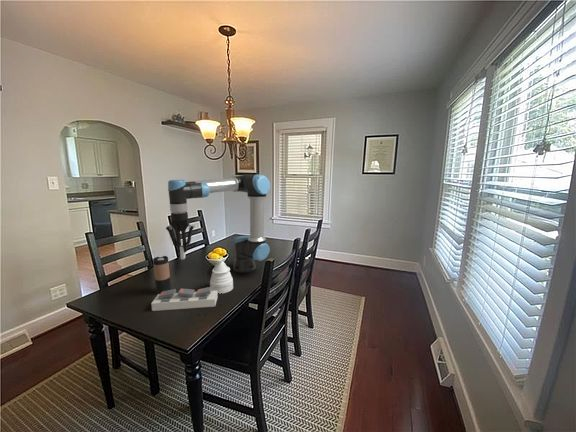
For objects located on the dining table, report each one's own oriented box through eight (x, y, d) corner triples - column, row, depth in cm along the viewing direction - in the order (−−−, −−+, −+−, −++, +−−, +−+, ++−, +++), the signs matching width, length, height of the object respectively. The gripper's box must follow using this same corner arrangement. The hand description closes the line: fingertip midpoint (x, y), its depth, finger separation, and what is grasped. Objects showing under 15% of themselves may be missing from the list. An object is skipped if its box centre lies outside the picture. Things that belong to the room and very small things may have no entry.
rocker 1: (176, 291, 130) (175, 288, 129) (173, 296, 125) (172, 293, 125) (162, 294, 129) (161, 291, 129) (159, 299, 124) (158, 296, 124)
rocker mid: (194, 292, 131) (194, 289, 131) (192, 297, 126) (192, 294, 126) (180, 291, 130) (180, 288, 130) (177, 295, 125) (177, 292, 125)
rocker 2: (211, 289, 132) (211, 286, 132) (210, 293, 127) (209, 290, 127) (198, 292, 131) (197, 289, 131) (196, 296, 127) (195, 294, 126)
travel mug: (163, 296, 136) (160, 261, 132) (153, 293, 138) (149, 259, 134) (174, 289, 143) (171, 256, 139) (164, 287, 145) (160, 255, 142)
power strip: (217, 297, 134) (217, 290, 134) (215, 306, 126) (214, 298, 125) (159, 301, 131) (158, 294, 130) (152, 311, 122) (151, 303, 121)
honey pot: (232, 292, 140) (231, 262, 136) (208, 294, 138) (206, 263, 134) (233, 282, 152) (232, 254, 149) (212, 284, 150) (210, 255, 146)
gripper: (194, 210, 124) (198, 255, 129) (167, 211, 123) (171, 256, 127) (191, 213, 117) (194, 260, 122) (162, 213, 115) (166, 261, 120)
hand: (183, 258), depth 124 cm, fingers closed
